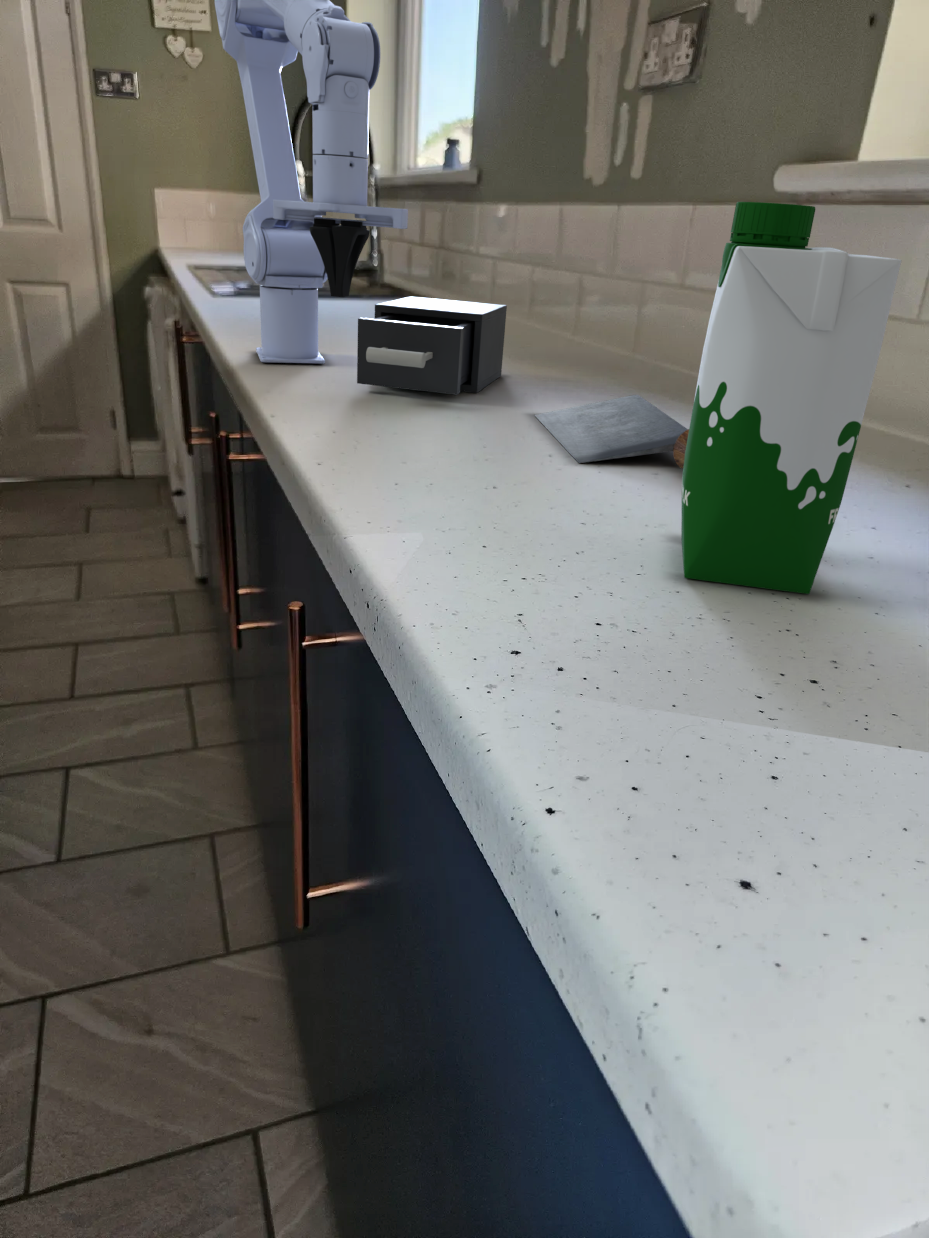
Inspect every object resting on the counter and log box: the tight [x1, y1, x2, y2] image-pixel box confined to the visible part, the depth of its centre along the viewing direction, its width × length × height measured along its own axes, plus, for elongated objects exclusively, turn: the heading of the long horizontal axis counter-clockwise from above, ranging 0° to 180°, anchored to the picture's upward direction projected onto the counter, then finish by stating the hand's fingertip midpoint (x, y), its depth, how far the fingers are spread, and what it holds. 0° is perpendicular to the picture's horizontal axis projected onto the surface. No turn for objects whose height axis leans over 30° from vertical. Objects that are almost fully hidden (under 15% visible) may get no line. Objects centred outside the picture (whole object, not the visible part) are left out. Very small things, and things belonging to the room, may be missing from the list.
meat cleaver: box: [534, 394, 689, 470], centre depth 76 cm, size 34×11×4 cm, turn 8°
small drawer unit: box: [374, 295, 508, 394], centre depth 105 cm, size 14×13×9 cm
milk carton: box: [680, 201, 903, 595], centre depth 49 cm, size 9×9×20 cm
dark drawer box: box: [356, 313, 475, 396], centre depth 96 cm, size 17×11×7 cm, turn 166°
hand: (339, 296), depth 96 cm, fingers closed
